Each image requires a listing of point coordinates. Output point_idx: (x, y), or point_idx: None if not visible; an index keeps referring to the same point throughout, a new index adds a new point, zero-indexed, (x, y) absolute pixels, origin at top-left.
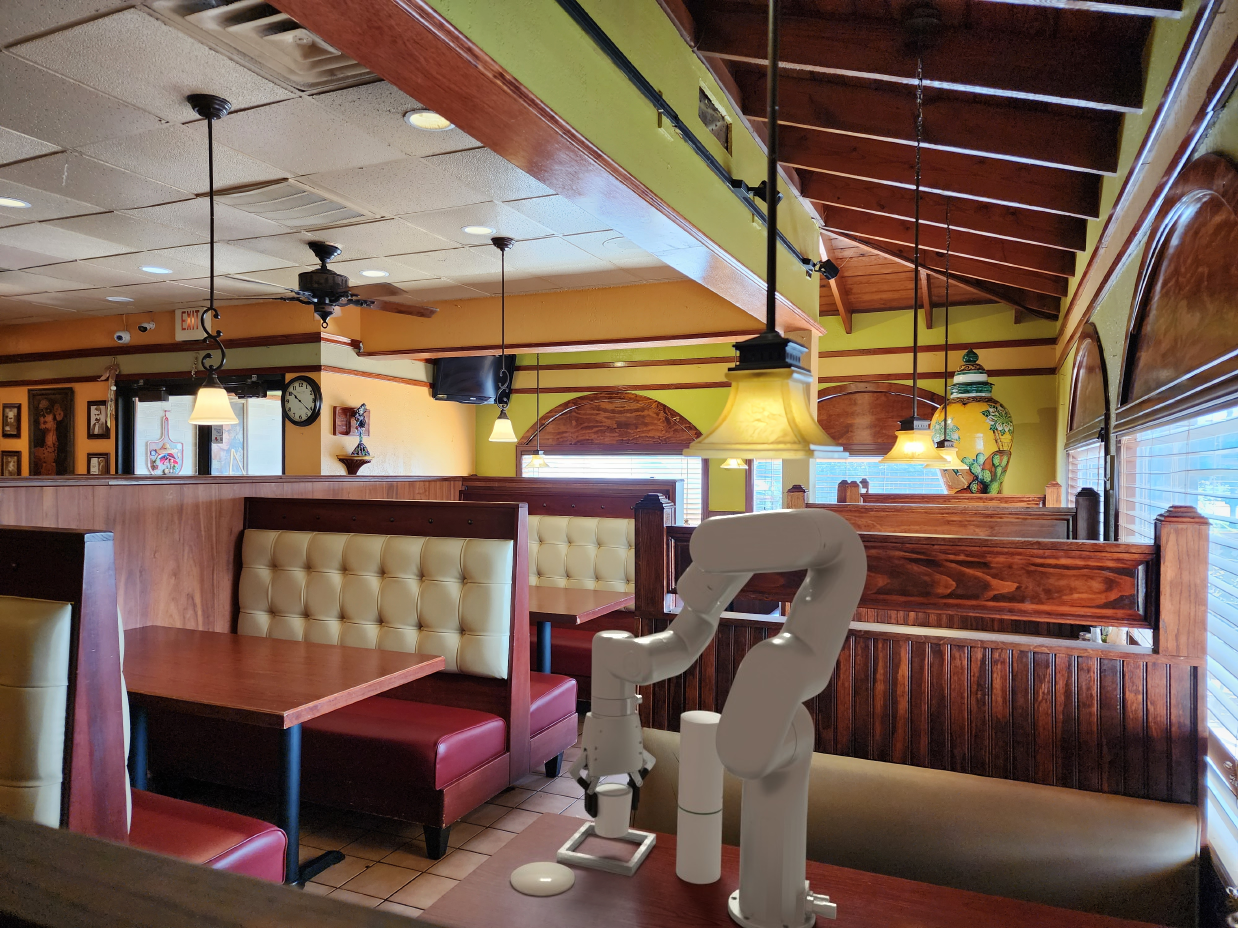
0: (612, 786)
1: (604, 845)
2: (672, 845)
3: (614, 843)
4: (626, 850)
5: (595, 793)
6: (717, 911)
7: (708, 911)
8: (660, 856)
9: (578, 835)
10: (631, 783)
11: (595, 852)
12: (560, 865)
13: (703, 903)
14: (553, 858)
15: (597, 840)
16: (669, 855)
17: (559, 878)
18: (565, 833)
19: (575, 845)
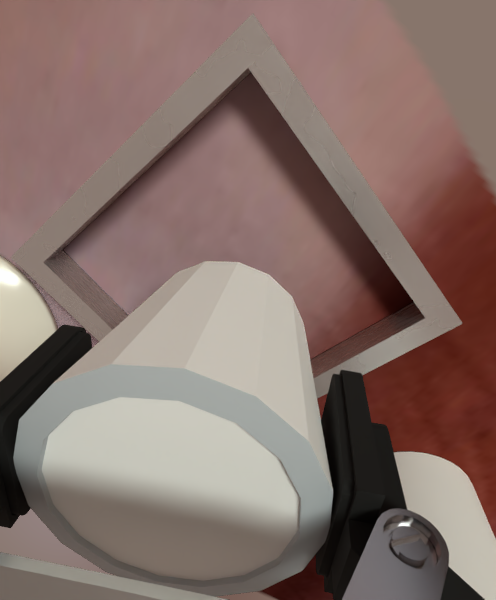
0: (200, 459)
1: (250, 222)
2: (488, 350)
3: (298, 227)
4: (305, 299)
5: (5, 516)
6: (308, 595)
7: (291, 588)
8: (382, 387)
9: (140, 163)
10: (340, 555)
11: (189, 256)
12: (28, 296)
13: (304, 571)
14: (24, 221)
15: (247, 165)
16: (415, 396)
17: (9, 358)
18: (138, 9)
19: (124, 189)
